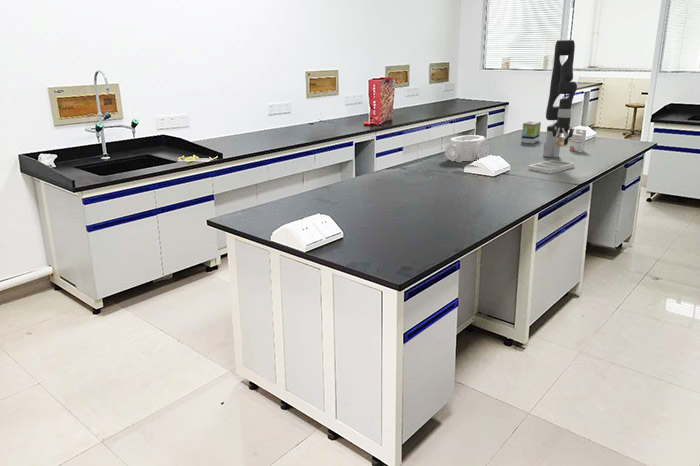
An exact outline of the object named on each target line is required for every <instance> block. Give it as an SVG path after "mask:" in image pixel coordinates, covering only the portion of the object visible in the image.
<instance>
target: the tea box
mask: <svg viewBox="0 0 700 466" xmlns="http://www.w3.org/2000/svg"><path fill="white" fill-rule="evenodd" d="M541 126H542V123H541V122H540V121H526V122H523V124H522V132H521V138H520V139H521V140H520V143H521V144H522V143H524V144H535V143H536V142H537V143H538V142H539V140H540V134H541Z"/></svg>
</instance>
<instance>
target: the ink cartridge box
mask: <svg viewBox="0 0 700 466" xmlns="http://www.w3.org/2000/svg"><path fill="white" fill-rule="evenodd" d="M586 137H587V130H586V129H579V128H576V129H575V133H574V132H573V135H572V138H570V145H569V151H571V152H577V151H578V153H581V152H585V145H586V139H587V138H586Z"/></svg>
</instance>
